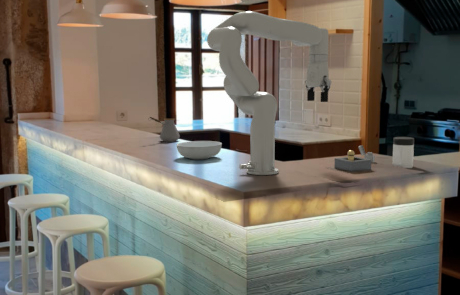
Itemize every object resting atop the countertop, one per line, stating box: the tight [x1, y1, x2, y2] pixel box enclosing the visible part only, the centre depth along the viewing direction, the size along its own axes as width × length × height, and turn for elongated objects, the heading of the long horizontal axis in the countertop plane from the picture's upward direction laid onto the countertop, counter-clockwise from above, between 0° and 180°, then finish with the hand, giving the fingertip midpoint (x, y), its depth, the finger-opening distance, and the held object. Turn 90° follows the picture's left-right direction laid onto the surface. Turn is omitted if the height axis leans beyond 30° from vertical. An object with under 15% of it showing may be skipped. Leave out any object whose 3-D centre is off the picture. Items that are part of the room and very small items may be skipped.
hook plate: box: [326, 166, 376, 174], centre depth 217 cm, size 14×14×1 cm
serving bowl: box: [176, 140, 223, 161], centre depth 254 cm, size 21×21×7 cm
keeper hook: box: [347, 149, 356, 161], centre depth 217 cm, size 3×3×7 cm
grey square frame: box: [333, 155, 372, 173], centre depth 216 cm, size 10×10×4 cm
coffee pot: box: [148, 116, 181, 143], centre depth 312 cm, size 21×12×15 cm, turn 142°
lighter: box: [358, 144, 376, 164], centre depth 234 cm, size 7×2×8 cm, turn 51°
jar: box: [392, 136, 415, 169], centre depth 227 cm, size 9×8×12 cm
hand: (317, 101), depth 227 cm, fingers open, 9 cm apart
